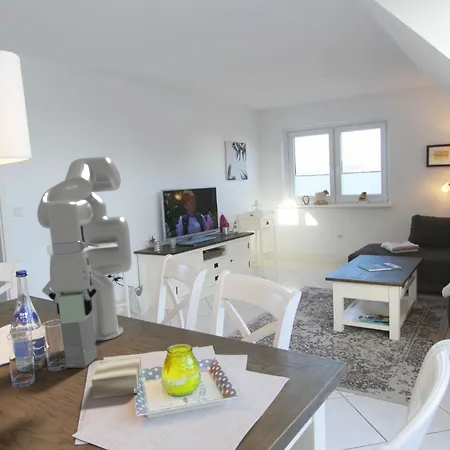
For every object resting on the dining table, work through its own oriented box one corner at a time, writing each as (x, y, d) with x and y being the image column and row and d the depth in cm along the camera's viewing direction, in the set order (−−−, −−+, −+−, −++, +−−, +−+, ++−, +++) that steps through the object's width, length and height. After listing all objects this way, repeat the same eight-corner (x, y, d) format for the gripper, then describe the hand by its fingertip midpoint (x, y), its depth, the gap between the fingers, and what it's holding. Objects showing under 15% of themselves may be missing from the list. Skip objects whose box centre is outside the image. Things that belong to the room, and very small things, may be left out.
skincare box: (85, 368, 125) (79, 316, 124) (63, 368, 127) (57, 317, 125) (99, 356, 133) (93, 307, 132) (79, 356, 135) (73, 308, 133)
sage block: (67, 316, 116) (64, 291, 115) (90, 314, 116) (87, 289, 115) (61, 323, 110) (57, 297, 109) (84, 321, 110) (81, 295, 109)
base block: (102, 378, 117) (100, 361, 117) (141, 374, 118) (140, 356, 118) (93, 398, 107) (91, 379, 106) (137, 393, 108) (135, 374, 107)
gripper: (104, 243, 115) (111, 307, 117) (39, 249, 114) (47, 314, 116) (97, 247, 108) (105, 316, 110) (28, 253, 107) (37, 323, 108)
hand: (75, 314), depth 113 cm, fingers closed on sage block, 6 cm apart
